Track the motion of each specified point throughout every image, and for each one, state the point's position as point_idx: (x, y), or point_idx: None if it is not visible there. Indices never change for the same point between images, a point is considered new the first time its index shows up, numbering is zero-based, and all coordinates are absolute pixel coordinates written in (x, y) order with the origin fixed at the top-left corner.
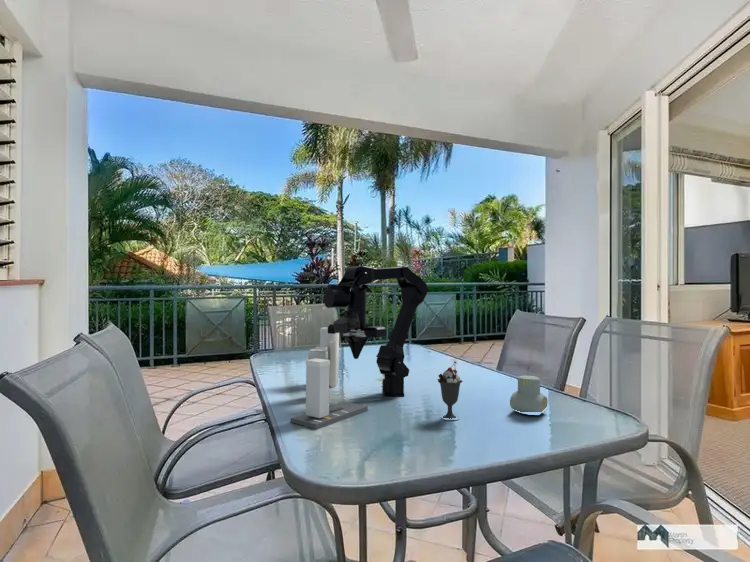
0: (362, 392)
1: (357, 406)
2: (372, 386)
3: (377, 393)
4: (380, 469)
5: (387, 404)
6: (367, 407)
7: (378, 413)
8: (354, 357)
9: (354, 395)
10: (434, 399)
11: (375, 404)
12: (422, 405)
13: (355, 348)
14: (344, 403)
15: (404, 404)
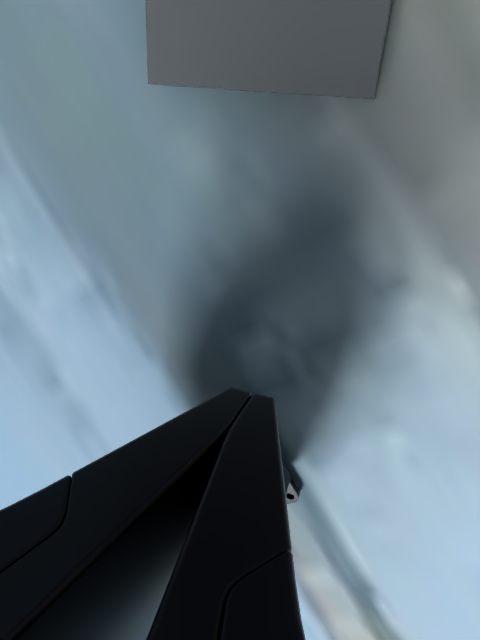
0: (412, 454)
1: (195, 26)
2: (419, 580)
3: (317, 456)
4: None
5: (152, 272)
6: (151, 80)
7: (81, 68)
8: (254, 402)
9: (427, 376)
10: (55, 431)
11: (202, 241)
12: (32, 328)
13: (116, 489)
14: (323, 36)
15: (93, 310)
